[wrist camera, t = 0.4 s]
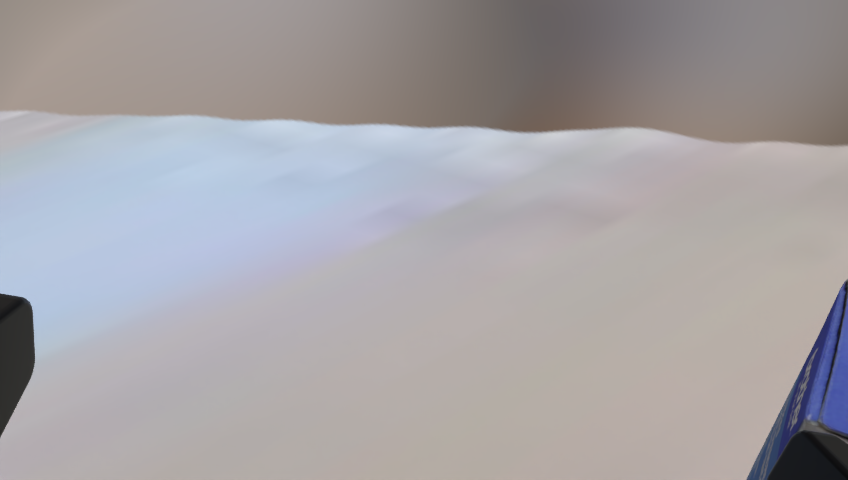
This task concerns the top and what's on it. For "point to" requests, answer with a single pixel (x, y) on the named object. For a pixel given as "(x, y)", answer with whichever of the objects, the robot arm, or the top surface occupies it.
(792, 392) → the ink cartridge box
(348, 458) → the top surface
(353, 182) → the top surface
